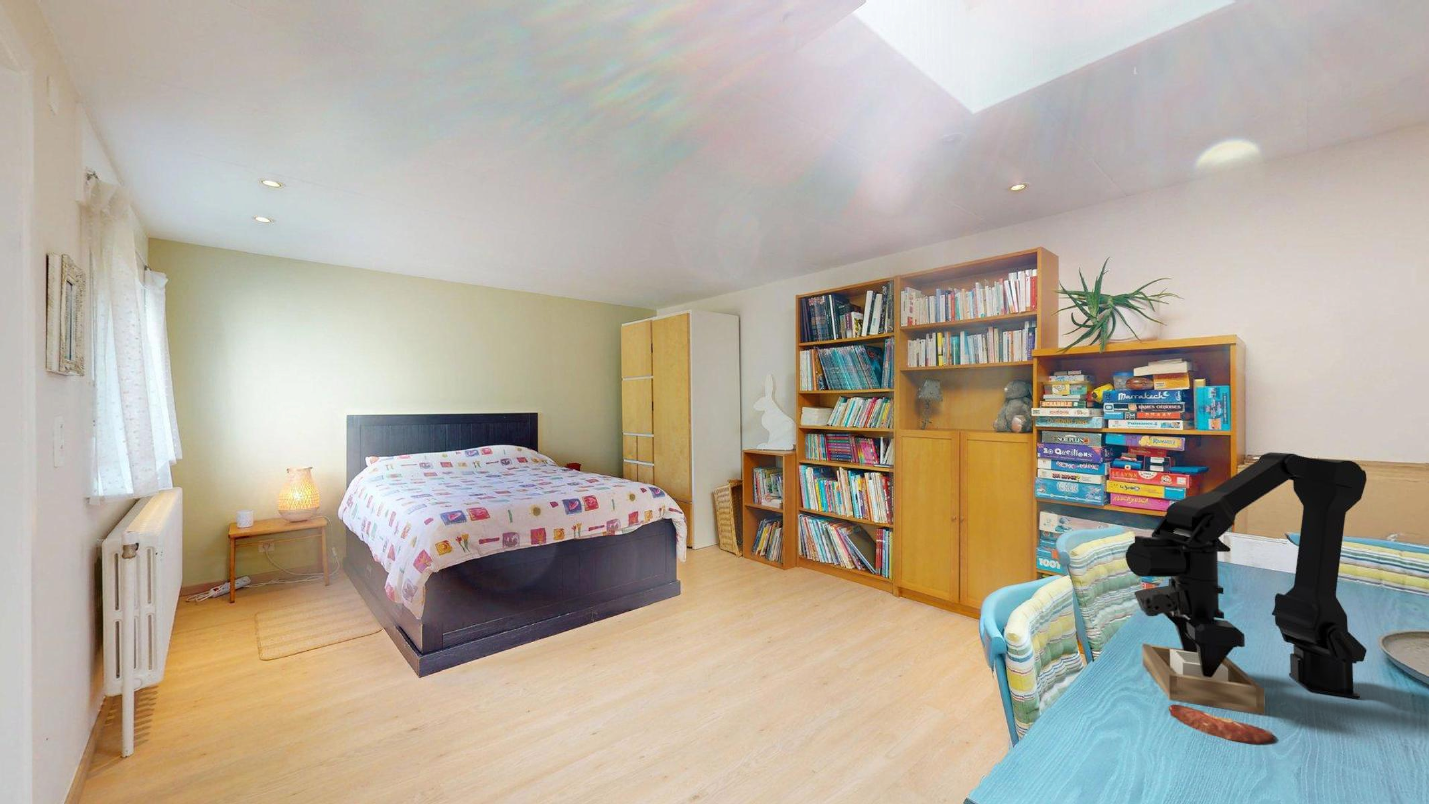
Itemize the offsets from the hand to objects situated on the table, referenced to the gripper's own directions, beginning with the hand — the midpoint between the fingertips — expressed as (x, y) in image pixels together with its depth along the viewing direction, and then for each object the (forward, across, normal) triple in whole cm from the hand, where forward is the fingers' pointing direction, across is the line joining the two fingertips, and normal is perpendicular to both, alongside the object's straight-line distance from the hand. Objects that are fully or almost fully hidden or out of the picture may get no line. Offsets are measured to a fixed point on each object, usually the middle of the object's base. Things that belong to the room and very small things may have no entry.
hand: (1198, 667), depth 95 cm
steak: (+4, +14, -2) cm, 15 cm away
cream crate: (+2, 0, 0) cm, 2 cm away
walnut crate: (+4, 0, 0) cm, 4 cm away
